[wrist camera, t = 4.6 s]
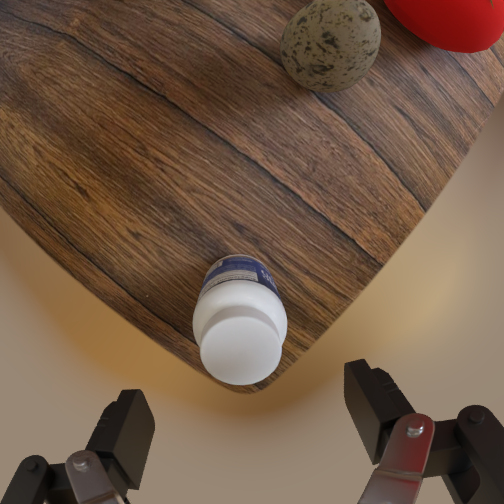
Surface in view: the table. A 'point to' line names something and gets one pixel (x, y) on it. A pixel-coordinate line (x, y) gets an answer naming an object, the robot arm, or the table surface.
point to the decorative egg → (331, 44)
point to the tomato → (452, 22)
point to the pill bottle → (239, 321)
